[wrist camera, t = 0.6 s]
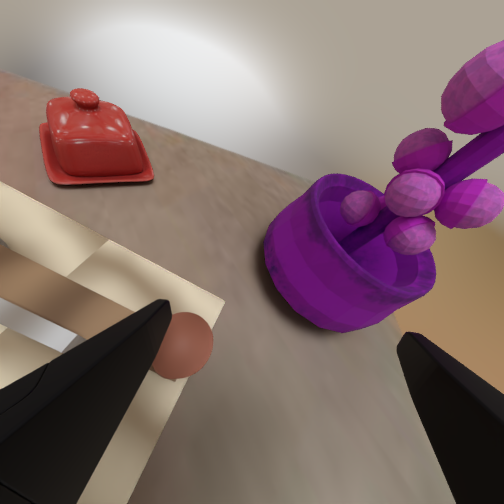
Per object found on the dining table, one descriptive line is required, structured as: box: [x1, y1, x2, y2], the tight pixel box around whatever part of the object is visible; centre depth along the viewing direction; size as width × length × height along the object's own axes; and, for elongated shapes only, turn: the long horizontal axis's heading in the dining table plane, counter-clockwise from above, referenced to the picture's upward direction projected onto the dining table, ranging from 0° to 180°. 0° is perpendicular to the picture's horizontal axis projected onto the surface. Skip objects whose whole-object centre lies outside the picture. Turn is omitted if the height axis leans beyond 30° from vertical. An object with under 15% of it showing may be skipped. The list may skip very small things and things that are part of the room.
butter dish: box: [39, 88, 154, 185], centre depth 25 cm, size 12×12×8 cm
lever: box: [0, 238, 213, 382], centre depth 13 cm, size 22×5×9 cm, turn 68°
